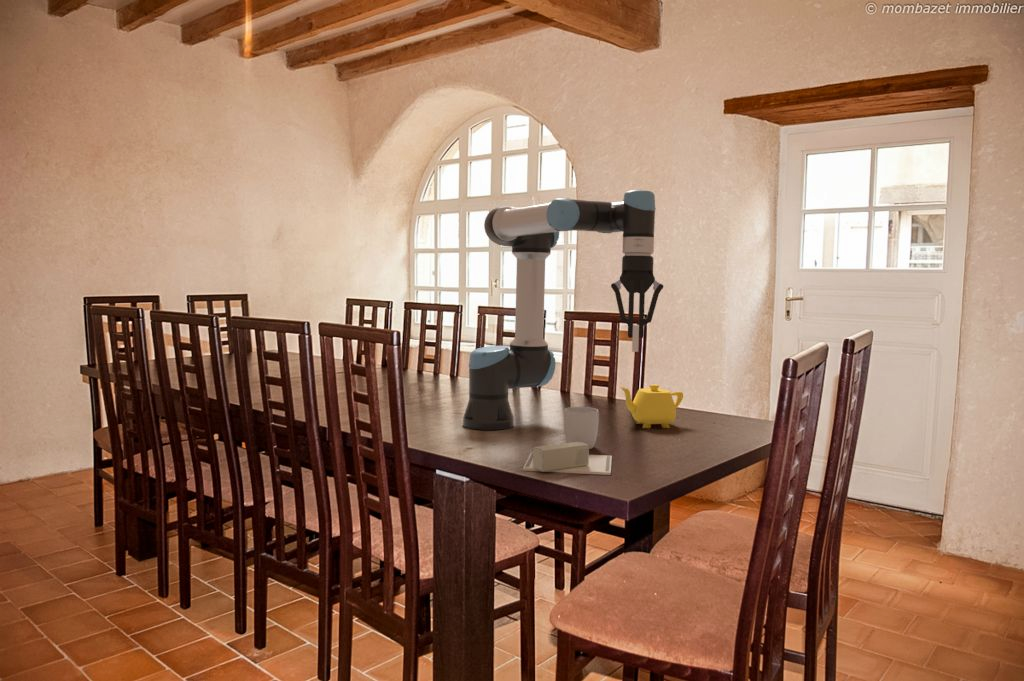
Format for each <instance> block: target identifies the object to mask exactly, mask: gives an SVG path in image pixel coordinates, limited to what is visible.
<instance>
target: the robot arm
mask: <svg viewBox="0 0 1024 681" xmlns="http://www.w3.org/2000/svg"><path fill="white" fill-rule="evenodd" d="M655 219H656V196H655V193H654V192H653V191H650V190H643V189H639V190H636V189H635V190H627V191H626V192H625V193H624V195H623V200H622V201H614V202H612V201H601V200H600V201H599V200H598V201H597V200H583V199H573V198H572V199H571V198H569V197H566V198H565V197H563V198H562V197H561V198H554V199H553V200H551V202H549V203H543V204H536V205H530V206H529V205H528V206H525V207H523V206H522V207H519V206H518V207H516V206H499V207H495V208H493V209H491V210H490V211H489V213H487V215H486V217H485V218H484V224H483V225H484V226H483V227H484V232H485V234H486V236H487V237H488V239H489V240H490V241H491V242H493V243H494V244H496V245H497V246H498V245H499V246H502V247H510V248H511V253H512V255H513V256H514V258H516V282H515V284H516V286H515V324H514V325H515V326H514V327H515V328H514V329H515V330H514V331H515V332H514V338H513V340H511V341H510V343H509V347H508V346H506V345H494V346H493V345H488V346H483V347H479V348H476V349H473V350H472V351H471V352H470V354H469V361H468V362H469V363H468V368H469V370H468V371H469V372H468V375H469V376H468V385H469V386H468V402H467V405H466V408H465V411H464V414H463V417H462V425H463V427H465V428H466V429H467V428H468V429H471V430H472V429H473V430H480V431H482V430H483V431H499V430H506V429H510V428H513V427H514V424H515V422H514V421H515V418H514V415H513V411H512V408H511V405H510V402H509V389H510V390H511V389H512V390H513V389H514V390H515V389H522V388H523V389H525V388H526V389H527V388H532V389H534V388H538V387H544V386H546V385H548V384H549V382H550V381H551V380H552V379H553V377H554V374H555V372H556V357H554V352H553V351H552V350H551V349H550V348H549V344H548V342H547V341H546V340H545V339H544V319H545V317H544V316H545V287H546V285H545V282H546V259H547V258H548V257H550V255H551V253H552V252H551V249H552V248H555V246H556V245H557V244H558V241H559V238H560V232H568V231H569V232H570V231H572V232H573V231H580V232H581V231H582V232H597V233H601V234H612V233H619V232H620V233H621V232H623V233H622V253H623V254H624V255H623V257H622V258H621V259H622V260H621V261H622V262H621V275H620V277H619V280H617V281H615V282H613V283H611V284H610V288H611V289H612V291H614V294H615V300H616V303H617V308H618V313H619V317H620V321H621V322H622V323H624V324H626V325H627V337H628V338H629V339H631V340H632V342H631V352H632V353H635V352H636V353H639V344H640V343H639V342H640V341H639V340H640V339H643V338H644V335H645V334H644V332H645V329H644V327H645V325H646V324H650V323H651V322H652V320H653V316H654V312H655V309H656V306H657V303H658V302H657V301H658V297H659V295H660V293H661V291H662V290H663V289H664V285H663V283H660V282H659V281H657V280H656V277H655V276H654V257H653V254H654V252H655V250H654V248H655V222H656V221H655ZM622 286H623V287H624V288H625V290H626V291H627V292H628V313H627V317H626V313H625V309H624V304H623V300H622V296H621V295H622V294H621V292H620V290H621V287H622ZM651 286H652V289H653V290H654V291H653V293H652V297H651V300H650V304H649V308H648V311H647V314H646V317H645V303H646V301H645V295H646V292H648V290H649V289H650V288H651ZM635 293H636V294H637V293H638V294H639V297H638V298H639V301H638V302H639V303H638V324H634V311H635V310H634V309H635V308H634V307H635V306H634V305H635V302H634V301H635Z"/></svg>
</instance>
